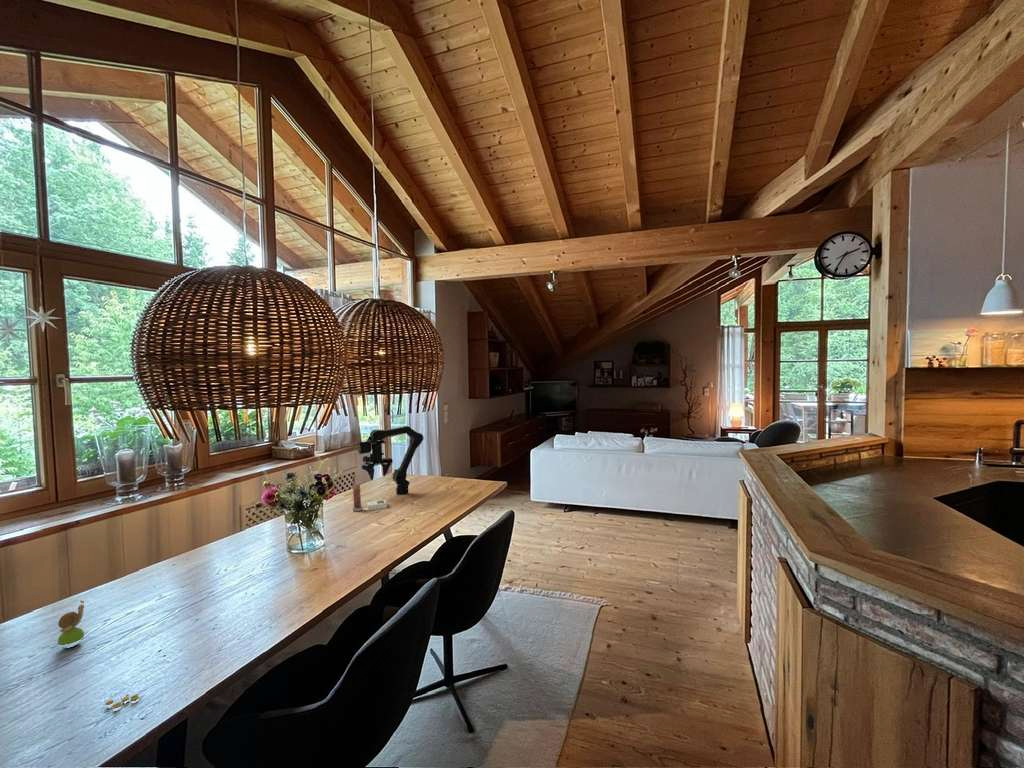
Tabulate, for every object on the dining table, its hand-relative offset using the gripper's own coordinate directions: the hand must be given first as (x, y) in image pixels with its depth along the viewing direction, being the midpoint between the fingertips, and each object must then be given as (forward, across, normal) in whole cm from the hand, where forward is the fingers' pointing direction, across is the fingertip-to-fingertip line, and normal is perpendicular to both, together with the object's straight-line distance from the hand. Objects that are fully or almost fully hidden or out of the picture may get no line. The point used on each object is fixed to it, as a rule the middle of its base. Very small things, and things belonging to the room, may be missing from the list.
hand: (378, 478), depth 259 cm
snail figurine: (+13, +138, +21) cm, 140 cm away
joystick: (+12, +20, +6) cm, 24 cm away
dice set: (+14, +141, +63) cm, 155 cm away
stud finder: (+12, +13, +12) cm, 21 cm away
